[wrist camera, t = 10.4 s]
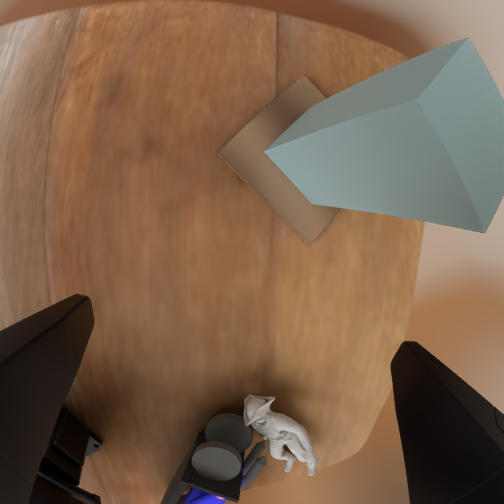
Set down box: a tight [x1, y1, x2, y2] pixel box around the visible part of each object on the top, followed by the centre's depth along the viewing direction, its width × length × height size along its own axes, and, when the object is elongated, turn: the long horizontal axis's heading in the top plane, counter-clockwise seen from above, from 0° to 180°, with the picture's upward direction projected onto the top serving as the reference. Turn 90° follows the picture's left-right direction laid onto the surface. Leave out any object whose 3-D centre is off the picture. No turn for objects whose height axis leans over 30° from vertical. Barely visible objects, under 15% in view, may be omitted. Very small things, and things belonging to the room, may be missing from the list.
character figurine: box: [161, 413, 266, 504], centre depth 19 cm, size 8×7×15 cm
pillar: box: [264, 38, 504, 233], centre depth 14 cm, size 5×5×14 cm
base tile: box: [217, 75, 341, 245], centre depth 21 cm, size 9×9×2 cm
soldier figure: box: [244, 394, 318, 476], centre depth 22 cm, size 8×5×12 cm
